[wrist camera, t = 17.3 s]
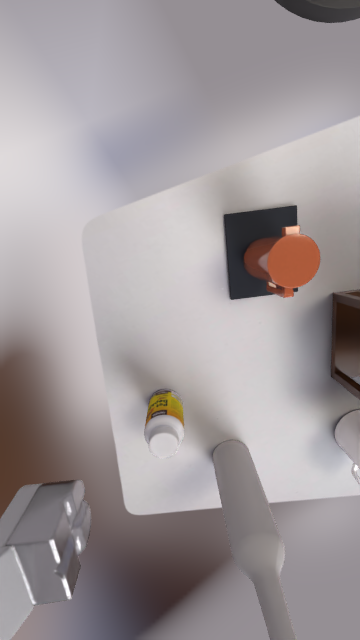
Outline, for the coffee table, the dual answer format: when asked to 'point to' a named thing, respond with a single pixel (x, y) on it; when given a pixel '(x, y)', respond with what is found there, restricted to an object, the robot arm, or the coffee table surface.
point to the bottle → (253, 533)
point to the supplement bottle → (164, 423)
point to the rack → (346, 340)
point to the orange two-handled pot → (283, 260)
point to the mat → (242, 234)
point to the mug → (350, 439)
